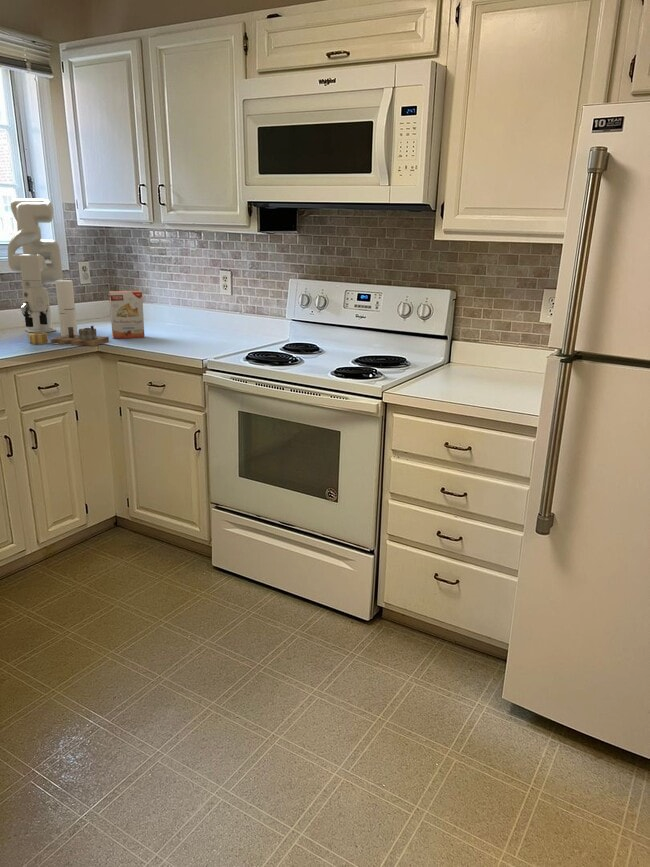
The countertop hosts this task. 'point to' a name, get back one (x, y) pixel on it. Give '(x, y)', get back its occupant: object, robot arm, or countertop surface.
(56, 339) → the gear board
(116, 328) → the cracker box
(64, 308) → the cylindrical container
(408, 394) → the countertop surface
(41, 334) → the brass gear
